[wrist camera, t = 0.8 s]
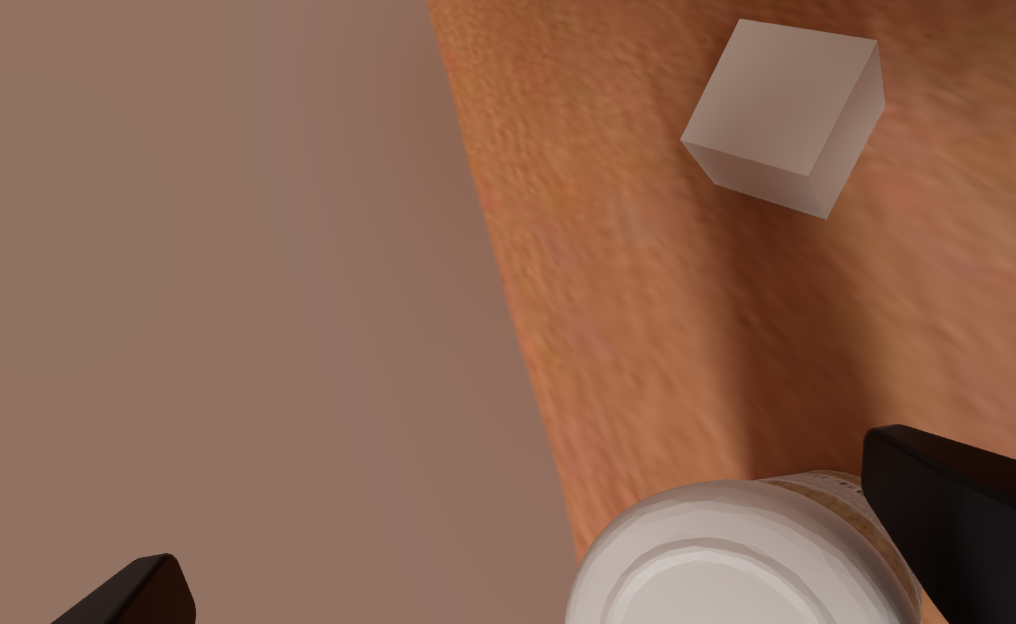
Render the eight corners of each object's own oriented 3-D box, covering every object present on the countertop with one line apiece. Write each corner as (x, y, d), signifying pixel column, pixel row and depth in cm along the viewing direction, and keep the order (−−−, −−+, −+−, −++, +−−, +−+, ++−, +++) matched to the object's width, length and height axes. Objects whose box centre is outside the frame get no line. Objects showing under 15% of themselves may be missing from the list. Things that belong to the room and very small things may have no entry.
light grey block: (885, 106, 21) (877, 40, 17) (826, 220, 21) (808, 176, 18) (766, 81, 23) (739, 18, 20) (714, 184, 23) (680, 139, 20)
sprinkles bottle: (726, 552, 21) (497, 666, 10) (810, 436, 20) (668, 413, 9) (864, 668, 18) (772, 1002, 7) (965, 540, 18) (1040, 687, 6)
